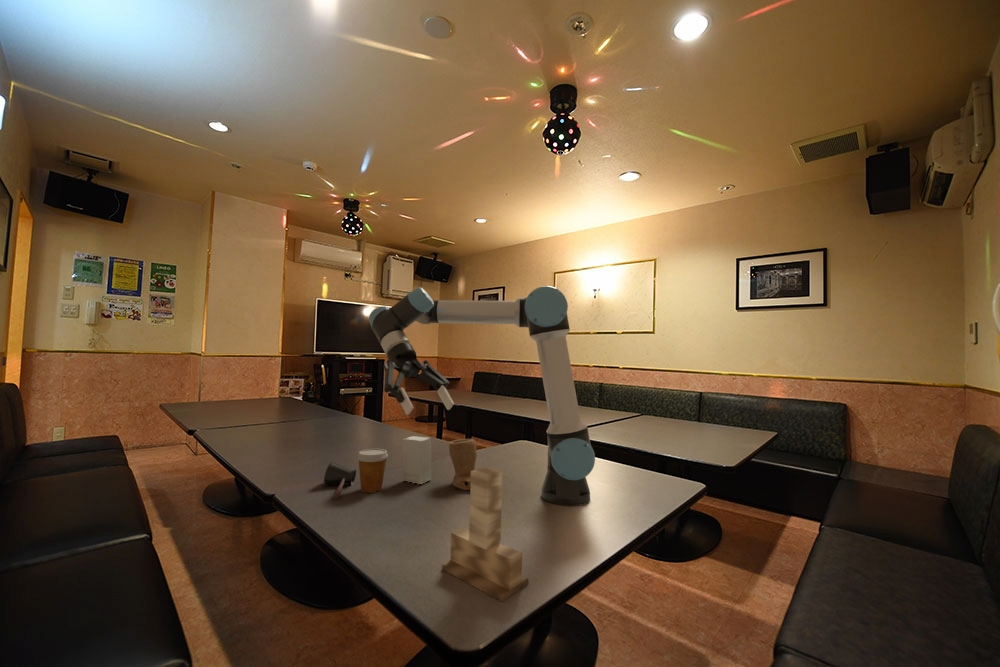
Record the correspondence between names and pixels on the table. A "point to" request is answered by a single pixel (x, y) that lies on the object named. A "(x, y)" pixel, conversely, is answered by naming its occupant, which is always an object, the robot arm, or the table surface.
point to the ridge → (486, 566)
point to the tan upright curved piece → (463, 461)
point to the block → (485, 507)
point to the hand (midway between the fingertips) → (431, 409)
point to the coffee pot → (338, 477)
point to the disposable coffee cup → (372, 469)
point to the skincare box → (417, 459)
